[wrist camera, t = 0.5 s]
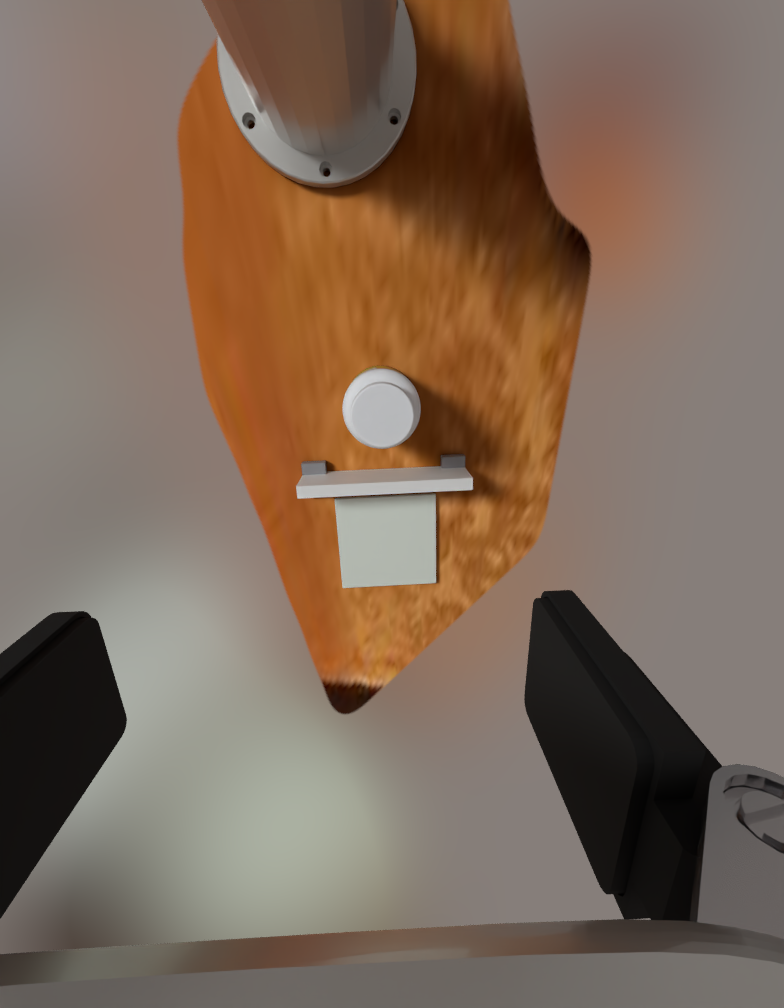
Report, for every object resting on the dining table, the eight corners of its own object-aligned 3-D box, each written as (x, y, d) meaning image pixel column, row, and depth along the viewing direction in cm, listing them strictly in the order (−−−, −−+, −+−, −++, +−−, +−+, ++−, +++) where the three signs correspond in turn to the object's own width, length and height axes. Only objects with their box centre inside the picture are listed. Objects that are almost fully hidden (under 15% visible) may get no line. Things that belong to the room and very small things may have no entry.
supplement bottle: (425, 407, 36) (442, 428, 27) (372, 443, 37) (371, 474, 28) (389, 351, 34) (395, 352, 25) (335, 389, 35) (321, 404, 26)
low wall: (302, 461, 37) (294, 474, 33) (463, 453, 37) (473, 465, 34) (306, 494, 38) (299, 510, 34) (462, 486, 38) (472, 501, 35)
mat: (335, 498, 38) (334, 499, 38) (435, 493, 39) (435, 494, 38) (342, 585, 41) (342, 587, 41) (435, 580, 42) (436, 582, 41)
